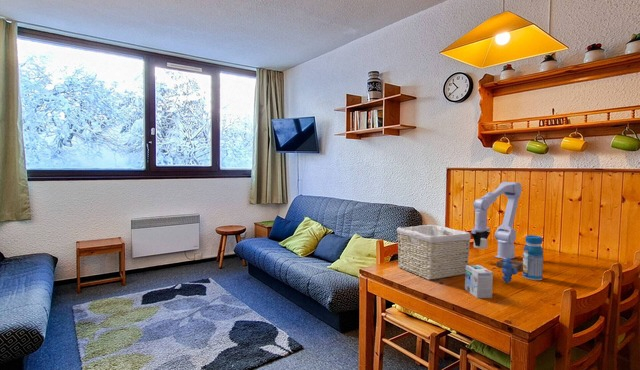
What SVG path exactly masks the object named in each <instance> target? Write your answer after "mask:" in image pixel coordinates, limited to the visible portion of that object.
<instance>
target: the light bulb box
mask: <svg viewBox="0 0 640 370" xmlns="http://www.w3.org/2000/svg"><path fill="white" fill-rule="evenodd" d="M493 274H494V271H492V270H490V269H487V268H486V267H484V266H482V265H480V264H472V265H471V264H468V265H466V268H465V274H464V275H465V277H464V279H465V280H464V290H466V291H467V292H468V294H469V293H470V294H471V295H472V296H473V297H475V298H476V299H490V298H491V299H493V282H494V281H493V279H494V278H493V277H494V275H493Z"/></svg>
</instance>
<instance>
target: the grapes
mask: <svg viewBox="0 0 640 370" xmlns="http://www.w3.org/2000/svg"><path fill="white" fill-rule="evenodd" d="M502 260H503V261H504V262H505V263H503V264H502V265H503V267H504V268H501V272H502V274H503V275H502V276H501V278H502V280H503V282H505V283H506V284H509V283H511V282H512V280H513V277H512V276H513V275H514V276H516V275H517V274H518V273H519V270H518V271H517V270H516V269H515V268H512V267H513V266H512V264H511V263H512V261H511V260H512V259H509V258H505V259H502Z"/></svg>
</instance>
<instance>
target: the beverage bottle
mask: <svg viewBox="0 0 640 370" xmlns="http://www.w3.org/2000/svg"><path fill="white" fill-rule="evenodd" d="M525 243H526V244H525V245H524V247H523V253H522V262H523V269H522V277H523V278H524V279H527V280H531V281H541V280H542V279H543V278H544V277H543V274H544V273H543V272H544V271H543V269H544V255H543V254H544V249H543V246H542V244H543V237H542V236H539V235H533V234H531V235H530V234H526V235H525Z"/></svg>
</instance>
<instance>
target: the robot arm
mask: <svg viewBox="0 0 640 370" xmlns="http://www.w3.org/2000/svg"><path fill="white" fill-rule="evenodd" d="M521 184H522V183H520V182H519V181H516V182H513V181H501V183H500V184H499V186H497V188H496V189H494V190H493V191H492V192H490V191H488V192H486V193H485V194H484V195H483V196H481V197H480V198H477V199H475V200H474V202H473V204H472V206H473V209H474V213H475V219H474V220H475V221H474V227H473V228H472V229H471V232H470V234H471V236H472V238H473V243H474V242H475V246H480V240H481V238H485V239H487V240H488V238H489V235H491V232H490V230H491V227H489V226H487V225H488V224H487V223H488V222H487V220H488V219H487V216H488V210H489V209H490V206H491V205H492V204H494V203H495V202H497V199H498V197H499V196H501V195H504V196H505V197H507V204H506V207H505V211H504V215H503V216H504V217H503V221H502V224H501V225H499V226H497V229H496V231H495V232H494V239H495V240H496V242H497V255H494V256H493V257H495V258H498V259H502V260H504V259H505V258H509V259H511V260H513V259H514V258H517V256H515V253H516V252H515V251H516V250H515V248H516V246H515V244H514V242H515V241H516V238H517V236H516V235H517V230H515V228H514V227H513V225H514V221H515V217H516V213H517V208H518V204H519V199H520V198H521V194H522V190H523V187H522V185H521Z"/></svg>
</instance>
